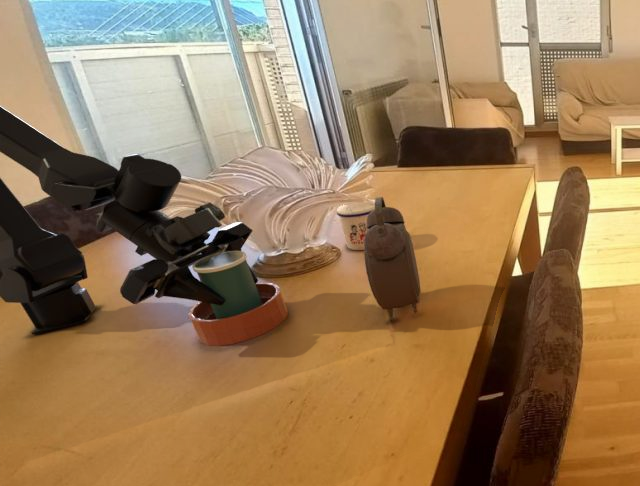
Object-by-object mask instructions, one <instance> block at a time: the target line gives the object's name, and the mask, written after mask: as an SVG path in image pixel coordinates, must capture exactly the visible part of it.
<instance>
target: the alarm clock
mask: <svg viewBox="0 0 640 486" xmlns="http://www.w3.org/2000/svg"><path fill="white" fill-rule="evenodd" d="M374 200H375V209H374V210H373V211H371V212H370V213H369V214H368V216H367V229H368V230H367V233H366V234H365V237H364V247H365V249H364V250H363V252H364V253H363V255H364V264H365V270H366V275H367V281H368V284H369V288H370V291H371V293H372V295H373V298H374V299H375V301H376V303H377V305H378V306H379V307H381V309H382V310H383V311H384V310H385V311H387V315H388V316H389V322H391V323H393V322H394V321H395V319H394V309H402V308H406V307H409V306H411V307H412V309H413V313H415V314H416V313H418V312H419V310H418V309H417V304H418V303H420V294H421V282H420V275H419V270H418V264H417V259H416V253H415V249H414V245H413V242H412V237H411V234H410V232H409V231H408V230H407V228H406V225H405V219H404V216H403V214H402V213H401V211H400V210H399V209H397V208H395V207H392V206H386V203H385V198H384V197H383V196H378V197H375V199H374Z"/></svg>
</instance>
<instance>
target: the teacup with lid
mask: <svg viewBox="0 0 640 486" xmlns="http://www.w3.org/2000/svg"><path fill="white" fill-rule="evenodd" d="M367 199H368V202H367V203H363V204H358V205H344V204H342V205H343V206H342V205H339V207H337V209H336V215H337V216H338V218H339V222H340V226H341V229H342V233H343V236H344V241H345V243H346V247H347V248H348V249H350V250H353V251H364V249H365V247H364V237H365V234H366V233H367V230H368V229H367V216H368V214H369V213H370V212H371V211H373V210H374V209H375V199H369V198H367Z"/></svg>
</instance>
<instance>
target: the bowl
mask: <svg viewBox="0 0 640 486" xmlns="http://www.w3.org/2000/svg"><path fill="white" fill-rule="evenodd" d="M255 285H256V287H257V290H258V293H259V295H260V298H261V301H262V303H263V305H261V306H259V307H257V308H255V309H253V310H250V311H248V312H245V313H242V314H240V315H236V316H232V317H228V318H223V319H217V318H216V316H215V313H214V311H213V309H212V306H211V304H210V303H205V302H200V301H198V302H197V303H195V304H194V306H193V307H192V308H190V310H189V312H188V315H187V316H188V318H189V320H190V321H189V322H190V324H191V325H192V327H193V329H194V332H195V334H196V336H197V338H198V340H199V342H200V343H201V344H203V345H207V346H209V347H222V346H229V345H234V344H239V343H242V342H245V341H249V340H253V339H254V338H258V337H259V336H262V335H264V334H267V333H268V332H270V331H271V330H273V329H275V328H276V327H277V326H279V325H280V324H281V323H282V322H284V321H285V320H286V318H287V317H288V310H289V309H288V307H287V305H286V302H285V299H284V296H283V293H282V290H281V287H279V286H278V285H277V284H275V283H271V282H257V283H256V284H255Z"/></svg>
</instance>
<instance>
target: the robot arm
mask: <svg viewBox="0 0 640 486" xmlns="http://www.w3.org/2000/svg"><path fill="white" fill-rule="evenodd" d="M0 153H1V154H2V155H4V156H6V157H7V158H9V159H11V160H13V161H14V162H15V163H17V164H19V165H20V166H21V167H23V168H25V169H27V170H28V171H30V173H32V174H34V176H36V177H37V178H38V180H39V184H40V188H41V190H42V191H43V192H44V193H45V194H47V196H49V197H50V198H52V199H53V200H54V201H55V202H56V203H58V205H61V206H62V207H63V208H65V209H67V210H69V211H72V212H84V211H87V210H91V209H94V208H97V207H100V206H103V205H105V206H104V207H103V208H102V211H101V212H99V213H96V214H95V218H96V224H95V226H96V229H97V232H99V233H104V232H107V231H110V230H113V231H115V232H116V233H117V234H119V235H120V236H122V237H124V238H125V239H126V240H128V241H129V242H131V243H132V244H133V245H135V246H137V247H136V249H135V251H134V253H136V254H138V255H139V256H140V257H142V256H145V255H146V254H148V255H149V256H151V257H152V258H154V259H151V260H149V261H146V262H145V263H142V264H140V265H137V266H136V267H134V268H133V267H132V268H131V269H130V270H129V271H128V273H127V275H126V277H125V279H124V280H123V282H122V284H121V286H120V288H119V293H120V295H121V297H122V298H123V299H125V300H126V301H128V302H129V303H130V304H132V305H138V304H140V303H141V302H144V301H145V300H147V299H149V298H151V297H155V298H157V299H162V298H163V297H167V298H176V299H181V300H182V299H183V300H189V301H195V302H205V303H210V304H216V305H223V304H224V302H225V300H224V299H223V298H222V297H221V296H220V295H219V294H218V293H216V292H215V291H213V290H212V289H211V288H209V287H208V286H206V285H205V284H203V283H202V282H201V281H200V279H198V278H197V277H195V276H194V275H193V273H192V271H191V269H190V267H192V266H193V264H194V263H196V262H197V261H199V260H201V259H203V258H205V257H208V256H211V255H214V254H218V253H222V252H228V251H242V248H243V246H244V245H245V244H246V242H247V241H248V238H249V237H250V236H251V234H252V232H253V229H252V228H251V227H249V226H248V225H247V224H245V223H244V222H233V223H231V224H229V225H227V226H225V227H222V226H223V223H222V222H221V221H222V220H224V219H225V218H226V216H225V213H224V212H223V210H221V208H220V207H218V206H217V205H215V204H213V203H212V202H210V201H209V202H206V203H204V204H201V205H199V207H195V208H194V213H191V214H189V215H187V216H184V217H182V216H178V215H177V216H175V217H170V216H168V215H167V214H166V213H164V212H163V211H162V210H163V209H165V208H166V207H167V206H168V205H169V203H170V201H171V199H172V198H173V196H174V194H175V192H176V190H177V189H178V187H179V184H180V182H181V181H182V177H183V176H182V173H181V171H180V170H179V169H178V168H177V167H175V165H173V164H171V163H167V162H164V161H162V160H158V159H155V158H145V157H143V156H142V155H141V154H139V153H134V154H131V155H126V156H123V157H122V160H121V162H120V168H116V167H115V166H114V165H111V164H109V163H107V162H106V161H103V160H101V159H99V158H97V157H95V156H92V155H91V156H90V155H86V154H83V153H77V152H73V151H71V150H70V149H68V148H65V147H63V146H62V145H60V144H59V143H57V142H56V141H55V140H53V139H51V138H50V137H48V136H47V135H45V134H44V133H42V132H41V131H39V130H37V129H36V128H35V127H33V126H32V125H31V124H29V123H27V122H26V121H24V120H23V119H20V118H19V117H18V116H16V115H14V114H13V113H12V112H11V111H9V110H7V109H6V108H4V107H2V106H1V105H0ZM220 227H222V228H220ZM215 228H220V229H218V231H217V232H216V234H215V235H214V237H213V239H212V240H211V241H210V242H208V243H206V241H207V240H209V239H210V236H211V234H210V233H209V232H210V231H213V230H214V229H215ZM247 264H248V266H249V269H250V272H251V274H252V277H253V280H254V282H255V284H256V283H259V279H258V277H257V276H256V274H255V273H254V271H253V269H252V268H251V267H250V265H249V263H248V262H247ZM87 271H88V270H87V265H86V260H85V256H84V254H83V251H81V250H80V249H79V248H78V247H76V245H75V244H74V243H73V241H72V239H71V238H70V236H69V235H67V234H65V233H63V232H60V233H57V234H56V233H53V232H51V231H48V230H47V229H44V228H42V227H41V226H40V225H39V224H38V223H37V221H36V220H35V219H34V217H33V216H32V215H31V214H30V213H29V211H28V210H27V209H26V207H24V205H23V204H22V203H21V201H20V200H19V199H18V198H17V197H16V195H15V194H14V192H12V190H11V189H10V188H9V187H8V185H7V184H6V183H5V182H4V180H3V179H2V178H1V177H0V272H1V273H2V275H1V277H0V298H1V300H2V301H4V302H5V303H11V304H12V303H13V304H20V305H21V307H22V308H23V311H25V314H26V315H27V317H28V318H29V320H30V321H31V323H32V324H33V327H34V328H33V329H32V330H31V331H30V333H31V334H32V335H37V334H38V335H39V334H42V333H46V332H51V331H55V330H59V329H63V328H68V327H71V326H75V325H81V324H83V323H86V322H87V321H88V320H89V318H90V317H91V316H92V314H93V313H94V312H95V310H96V309H97V307H98V306H97V304H95V303H94V301H93V299H92V297H91V295H90V293H89V292H88V289H87V288H85V287H83V288H82V287H81V285H80V283H79V282H81V281H83V280H84V281H85V280H86V279H88V277H89V276H88V272H87Z"/></svg>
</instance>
